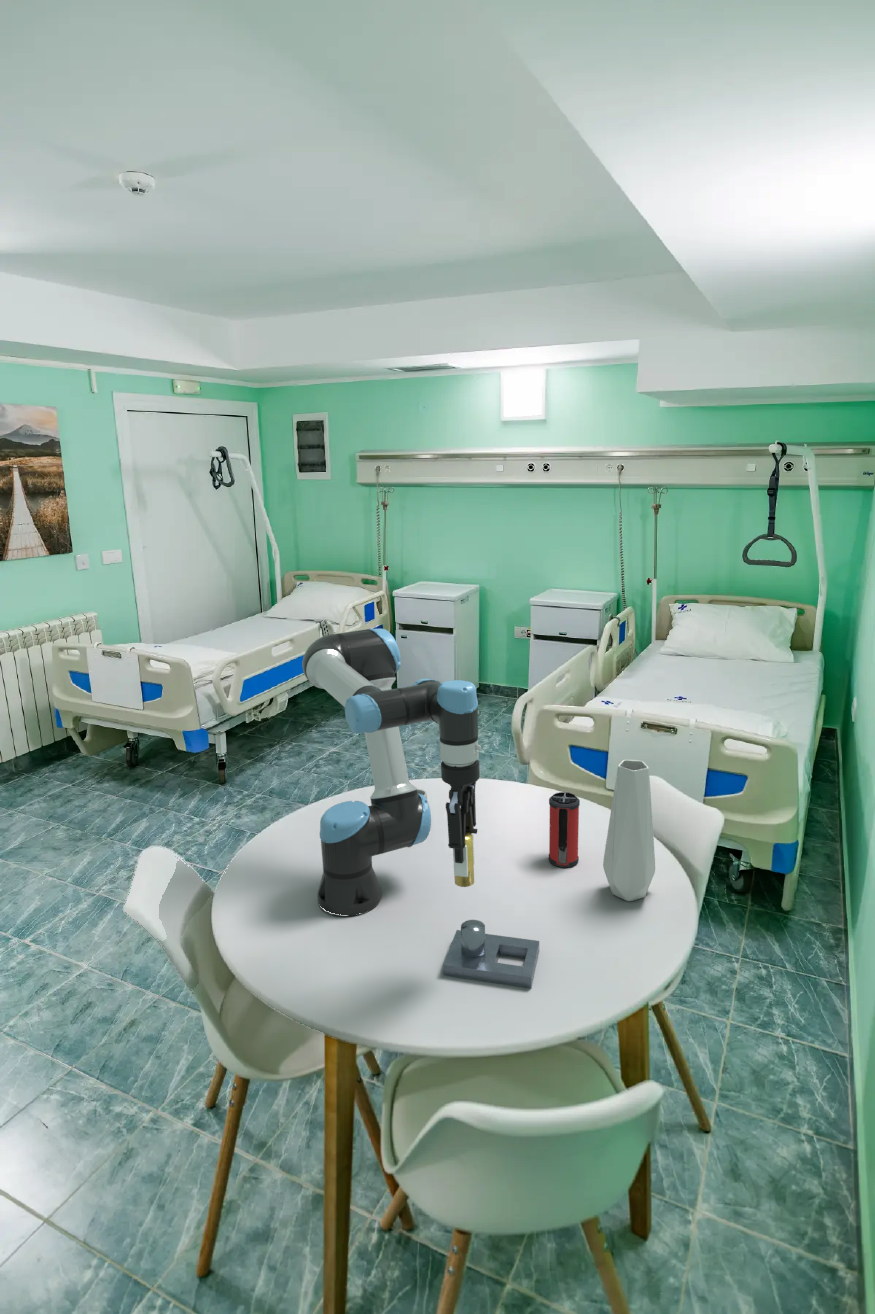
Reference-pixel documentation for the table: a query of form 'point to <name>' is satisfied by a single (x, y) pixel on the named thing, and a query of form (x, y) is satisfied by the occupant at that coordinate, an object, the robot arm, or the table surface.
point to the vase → (630, 833)
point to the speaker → (563, 829)
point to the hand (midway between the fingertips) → (464, 869)
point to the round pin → (470, 879)
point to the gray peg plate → (490, 956)
